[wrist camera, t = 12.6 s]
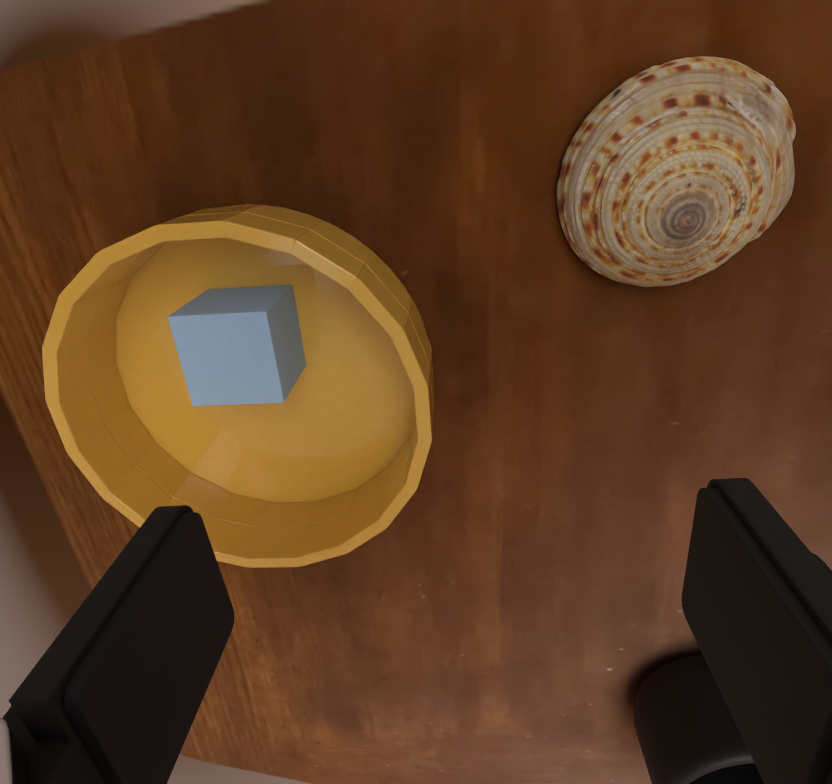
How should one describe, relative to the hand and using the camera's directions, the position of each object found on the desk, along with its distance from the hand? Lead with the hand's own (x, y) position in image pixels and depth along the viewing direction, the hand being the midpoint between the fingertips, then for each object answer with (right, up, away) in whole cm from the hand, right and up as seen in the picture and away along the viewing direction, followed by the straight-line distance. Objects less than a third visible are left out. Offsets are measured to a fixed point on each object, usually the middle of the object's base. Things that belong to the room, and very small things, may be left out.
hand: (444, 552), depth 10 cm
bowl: (-8, +4, +17) cm, 19 cm away
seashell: (+10, +12, +12) cm, 20 cm away
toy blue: (-8, +6, +15) cm, 18 cm away
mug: (+18, -15, +25) cm, 34 cm away
